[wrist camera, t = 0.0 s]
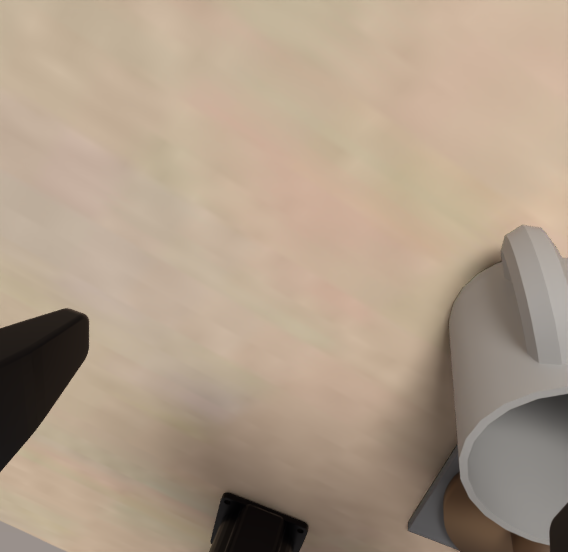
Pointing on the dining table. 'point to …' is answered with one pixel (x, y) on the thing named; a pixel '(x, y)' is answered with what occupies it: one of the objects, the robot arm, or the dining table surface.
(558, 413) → the cup
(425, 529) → the mat
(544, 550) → the lid
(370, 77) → the dining table surface
